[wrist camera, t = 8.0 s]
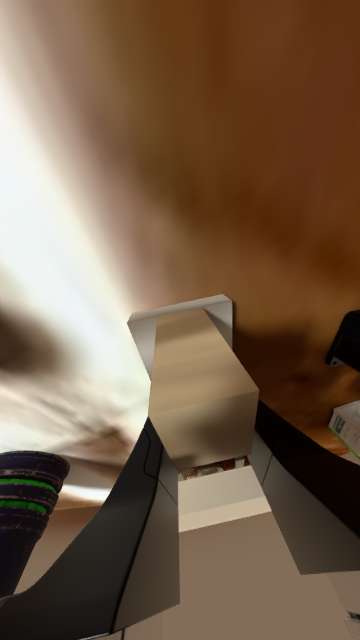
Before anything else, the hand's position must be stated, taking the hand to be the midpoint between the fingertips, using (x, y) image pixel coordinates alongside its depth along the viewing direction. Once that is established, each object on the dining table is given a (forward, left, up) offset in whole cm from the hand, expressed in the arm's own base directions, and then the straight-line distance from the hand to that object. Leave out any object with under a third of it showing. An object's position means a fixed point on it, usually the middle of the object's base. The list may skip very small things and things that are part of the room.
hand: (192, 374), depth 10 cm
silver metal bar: (0, +8, -3) cm, 8 cm away
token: (0, +29, -3) cm, 30 cm away
